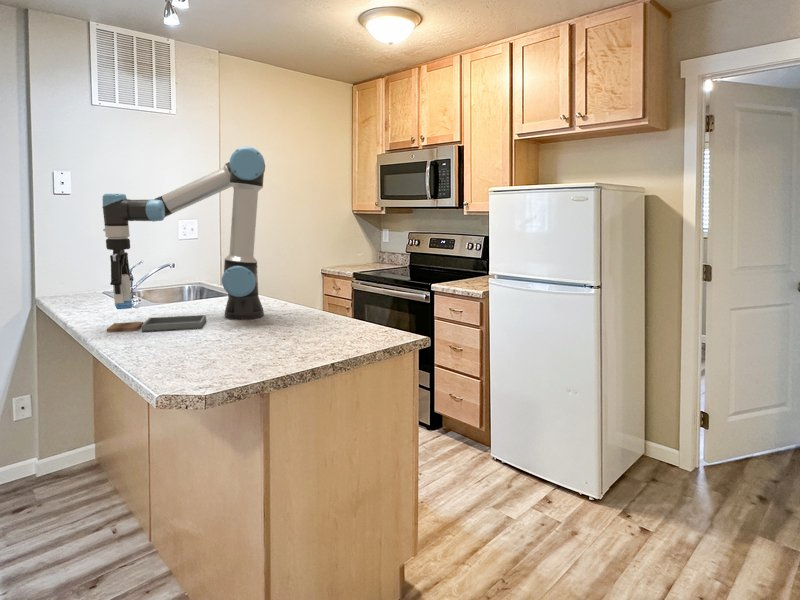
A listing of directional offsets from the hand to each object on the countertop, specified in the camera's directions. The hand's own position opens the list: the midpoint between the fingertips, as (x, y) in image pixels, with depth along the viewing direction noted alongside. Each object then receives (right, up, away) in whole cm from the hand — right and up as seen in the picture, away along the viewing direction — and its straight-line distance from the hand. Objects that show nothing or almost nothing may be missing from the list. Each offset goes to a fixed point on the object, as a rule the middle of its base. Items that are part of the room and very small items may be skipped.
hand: (123, 300), depth 190 cm
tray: (+17, -10, +4) cm, 20 cm away
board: (0, -10, +2) cm, 10 cm away
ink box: (0, -3, 0) cm, 3 cm away
